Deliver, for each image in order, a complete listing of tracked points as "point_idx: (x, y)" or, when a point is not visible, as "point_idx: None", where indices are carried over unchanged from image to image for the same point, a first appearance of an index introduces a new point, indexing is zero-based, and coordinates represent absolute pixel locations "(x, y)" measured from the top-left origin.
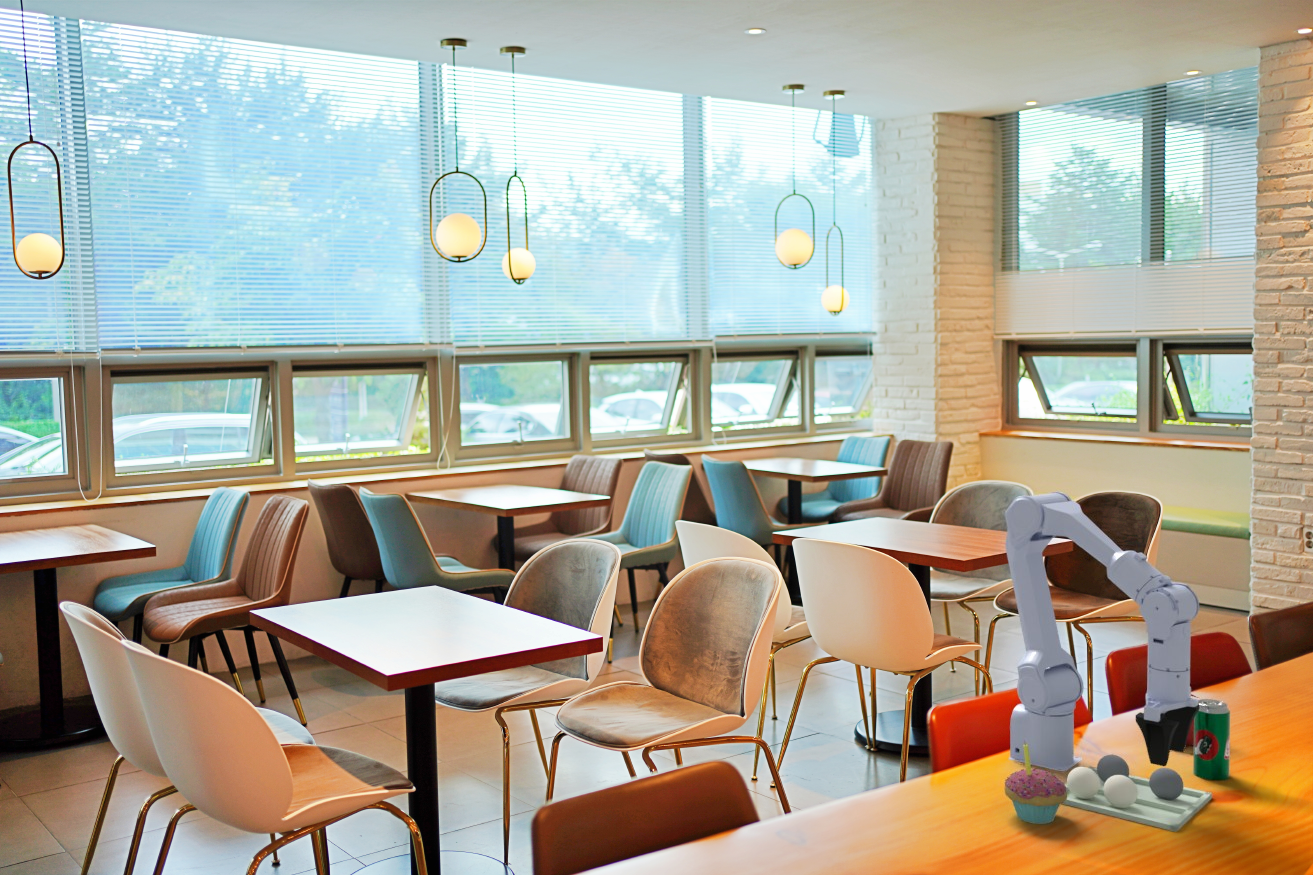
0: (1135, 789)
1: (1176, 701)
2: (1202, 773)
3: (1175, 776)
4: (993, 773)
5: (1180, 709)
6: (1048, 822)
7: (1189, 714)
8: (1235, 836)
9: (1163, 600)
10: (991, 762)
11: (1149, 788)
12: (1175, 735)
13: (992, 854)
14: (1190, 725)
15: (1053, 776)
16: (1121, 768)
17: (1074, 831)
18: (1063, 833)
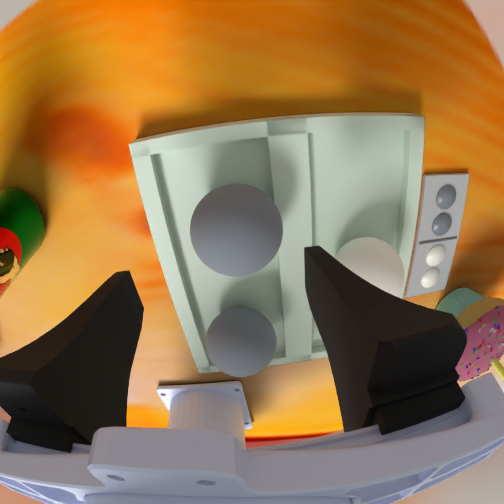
0: (375, 251)
1: (325, 499)
2: (38, 229)
3: (247, 215)
4: (308, 413)
5: (81, 412)
6: (469, 289)
7: (63, 370)
8: (328, 7)
9: None
10: (268, 429)
11: (196, 266)
12: (121, 328)
13: None
14: (61, 325)
15: (485, 344)
16: (258, 332)
17: (470, 254)
18: (481, 260)
